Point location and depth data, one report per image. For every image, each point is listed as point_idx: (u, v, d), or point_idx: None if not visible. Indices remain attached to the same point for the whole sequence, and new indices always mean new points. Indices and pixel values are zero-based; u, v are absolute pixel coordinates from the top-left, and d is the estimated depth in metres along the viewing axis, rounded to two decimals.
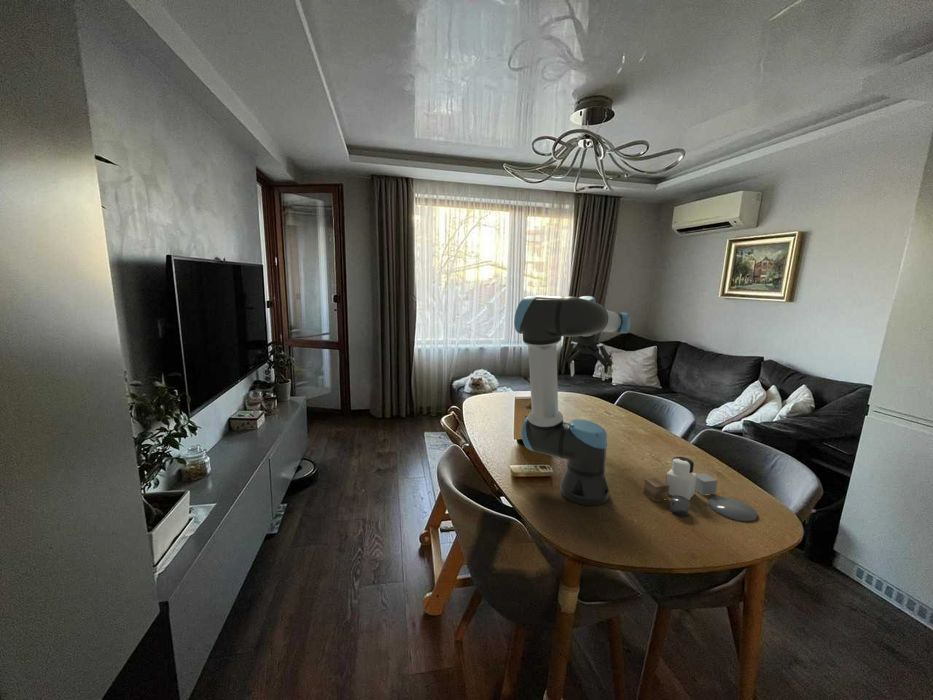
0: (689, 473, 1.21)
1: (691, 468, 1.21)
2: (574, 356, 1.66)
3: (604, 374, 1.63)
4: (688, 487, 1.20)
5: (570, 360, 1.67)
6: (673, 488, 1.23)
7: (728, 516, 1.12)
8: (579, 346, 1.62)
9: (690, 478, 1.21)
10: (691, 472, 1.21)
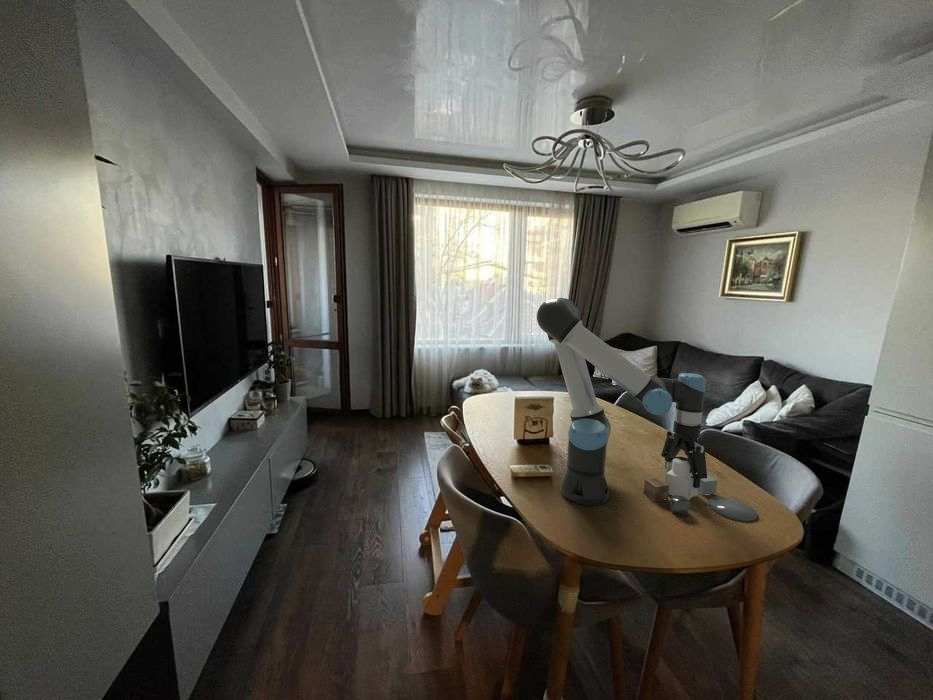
0: (689, 473, 1.21)
1: None
2: (671, 451, 1.27)
3: (693, 488, 1.19)
4: (688, 487, 1.20)
5: (667, 457, 1.29)
6: (674, 488, 1.23)
7: (728, 516, 1.12)
8: (676, 436, 1.25)
9: None
10: (691, 472, 1.21)
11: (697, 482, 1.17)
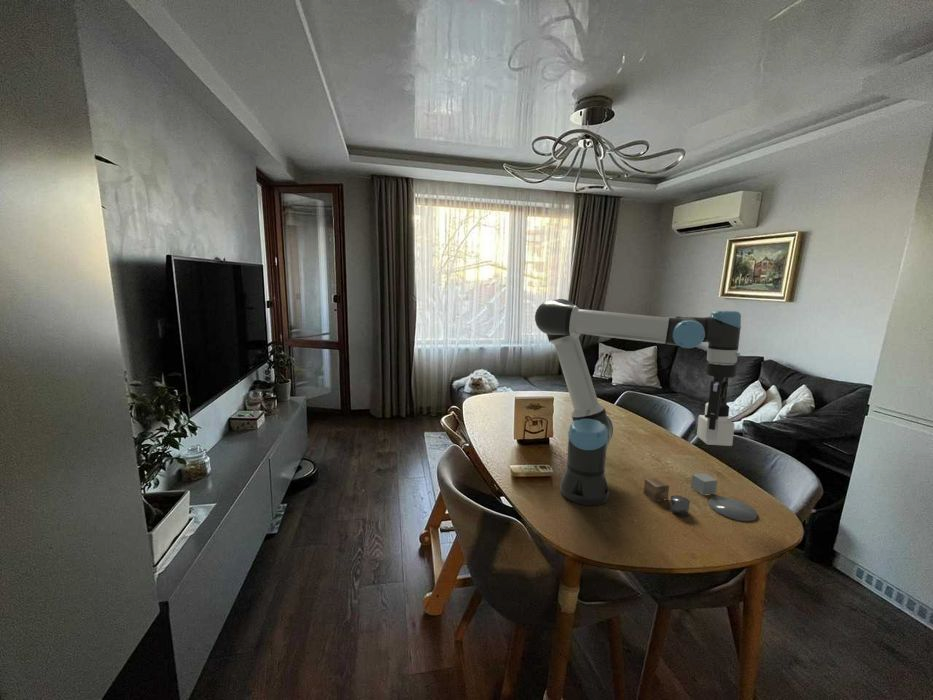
0: None
1: None
2: None
3: (709, 430, 1.13)
4: None
5: None
6: (700, 430, 1.18)
7: (728, 516, 1.12)
8: None
9: None
10: (718, 416, 1.13)
11: (710, 423, 1.12)
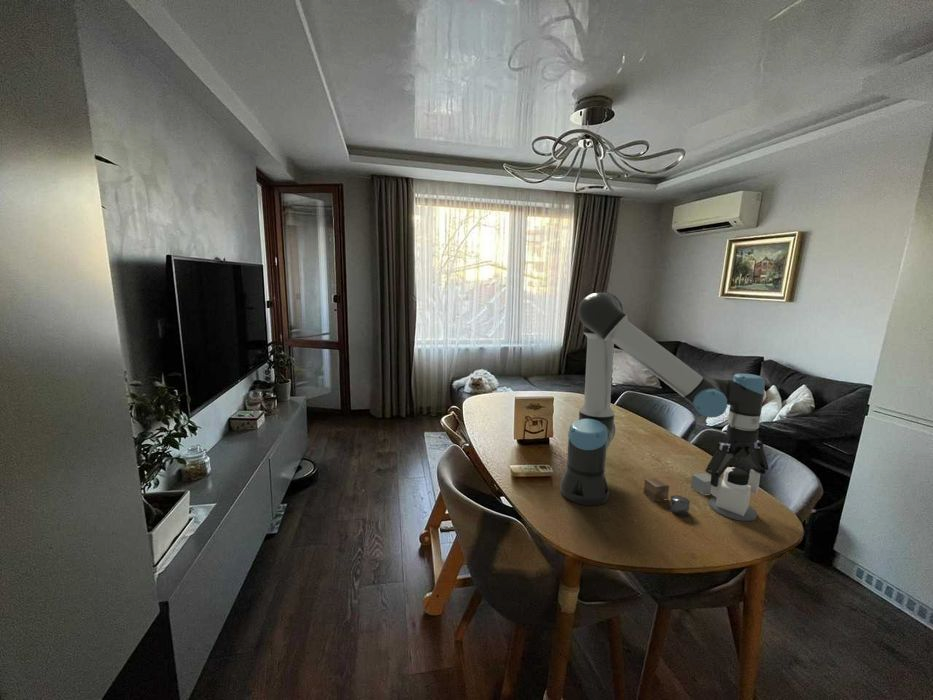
0: (727, 481, 1.14)
1: (730, 477, 1.13)
2: None
3: (713, 486, 1.14)
4: None
5: None
6: None
7: (728, 516, 1.12)
8: None
9: (726, 486, 1.14)
10: (730, 482, 1.13)
11: (712, 479, 1.13)
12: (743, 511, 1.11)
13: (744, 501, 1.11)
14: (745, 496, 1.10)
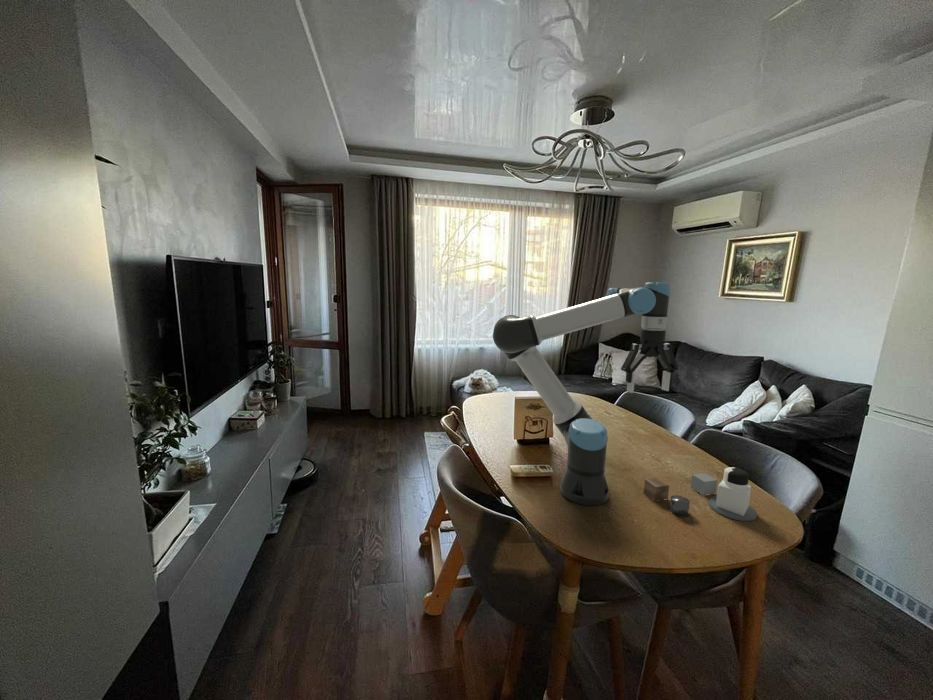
0: (727, 481, 1.14)
1: (730, 477, 1.13)
2: None
3: (628, 383, 1.29)
4: None
5: None
6: None
7: (728, 516, 1.12)
8: None
9: (726, 486, 1.14)
10: (730, 482, 1.13)
11: (626, 376, 1.28)
12: (743, 511, 1.11)
13: (744, 501, 1.11)
14: (745, 496, 1.10)
